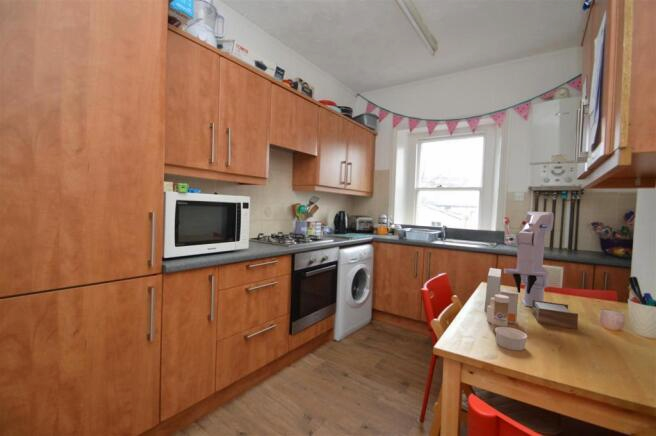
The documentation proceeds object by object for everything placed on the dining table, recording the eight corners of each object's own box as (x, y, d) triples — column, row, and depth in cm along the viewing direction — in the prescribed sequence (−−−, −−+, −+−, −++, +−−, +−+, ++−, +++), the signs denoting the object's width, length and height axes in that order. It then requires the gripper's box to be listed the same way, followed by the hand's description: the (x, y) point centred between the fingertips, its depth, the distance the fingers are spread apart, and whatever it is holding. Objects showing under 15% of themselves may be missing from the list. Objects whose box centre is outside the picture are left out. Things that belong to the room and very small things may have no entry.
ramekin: (532, 348, 93) (532, 335, 93) (517, 354, 89) (517, 340, 89) (504, 337, 101) (504, 324, 101) (488, 342, 97) (489, 329, 96)
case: (532, 313, 125) (532, 300, 125) (566, 318, 120) (567, 304, 120) (538, 323, 114) (539, 308, 114) (577, 329, 109) (578, 314, 109)
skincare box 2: (498, 321, 115) (500, 291, 115) (498, 317, 119) (499, 288, 119) (516, 324, 113) (518, 293, 112) (515, 320, 116) (517, 291, 116)
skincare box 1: (498, 314, 124) (500, 276, 123) (484, 311, 126) (486, 275, 126) (499, 301, 142) (501, 268, 141) (487, 298, 144) (488, 267, 144)
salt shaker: (493, 320, 116) (494, 296, 116) (502, 324, 112) (503, 299, 112) (485, 321, 115) (486, 297, 114) (494, 325, 111) (495, 300, 111)
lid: (534, 305, 124) (534, 301, 124) (563, 309, 120) (563, 305, 120) (540, 312, 115) (540, 308, 115) (571, 317, 111) (572, 313, 111)
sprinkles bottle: (493, 334, 103) (495, 296, 102) (492, 329, 107) (493, 293, 106) (508, 336, 101) (510, 298, 100) (506, 331, 105) (508, 295, 105)
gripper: (506, 259, 120) (504, 292, 121) (549, 263, 114) (547, 297, 115) (504, 257, 127) (502, 288, 127) (544, 260, 121) (542, 293, 121)
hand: (523, 292), depth 121 cm, fingers open, 3 cm apart
